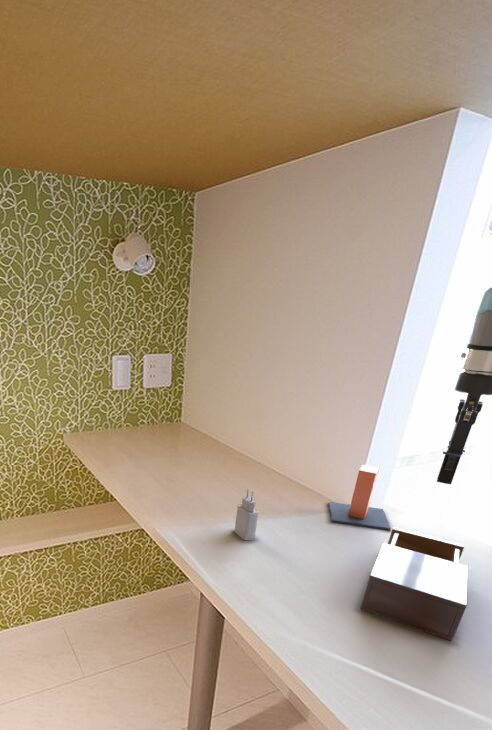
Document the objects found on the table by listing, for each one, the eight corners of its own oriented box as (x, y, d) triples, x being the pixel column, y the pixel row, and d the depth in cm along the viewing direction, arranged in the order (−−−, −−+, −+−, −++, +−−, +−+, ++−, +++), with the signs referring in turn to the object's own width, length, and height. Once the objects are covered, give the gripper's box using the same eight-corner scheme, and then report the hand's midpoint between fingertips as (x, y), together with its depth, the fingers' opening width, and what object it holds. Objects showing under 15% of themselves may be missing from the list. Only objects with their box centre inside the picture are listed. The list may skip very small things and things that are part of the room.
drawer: (389, 541, 103) (395, 520, 101) (456, 559, 96) (464, 537, 94) (376, 575, 90) (383, 552, 88) (452, 599, 83) (462, 574, 81)
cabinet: (374, 573, 93) (383, 542, 89) (455, 598, 85) (468, 566, 82) (360, 608, 82) (370, 575, 79) (451, 641, 74) (466, 605, 71)
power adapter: (244, 540, 104) (251, 495, 99) (233, 530, 109) (238, 486, 104) (255, 538, 105) (262, 493, 100) (244, 528, 110) (249, 485, 105)
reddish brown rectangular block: (351, 509, 120) (363, 464, 115) (367, 512, 118) (379, 467, 112) (347, 515, 116) (359, 470, 111) (364, 519, 114) (376, 473, 109)
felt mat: (382, 510, 121) (382, 509, 120) (390, 530, 110) (390, 528, 110) (328, 503, 125) (329, 501, 124) (331, 521, 114) (331, 519, 114)
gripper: (460, 366, 94) (427, 468, 105) (457, 374, 83) (421, 487, 94) (502, 369, 91) (464, 475, 101) (506, 378, 80) (463, 495, 90)
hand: (444, 480), depth 97 cm, fingers closed
